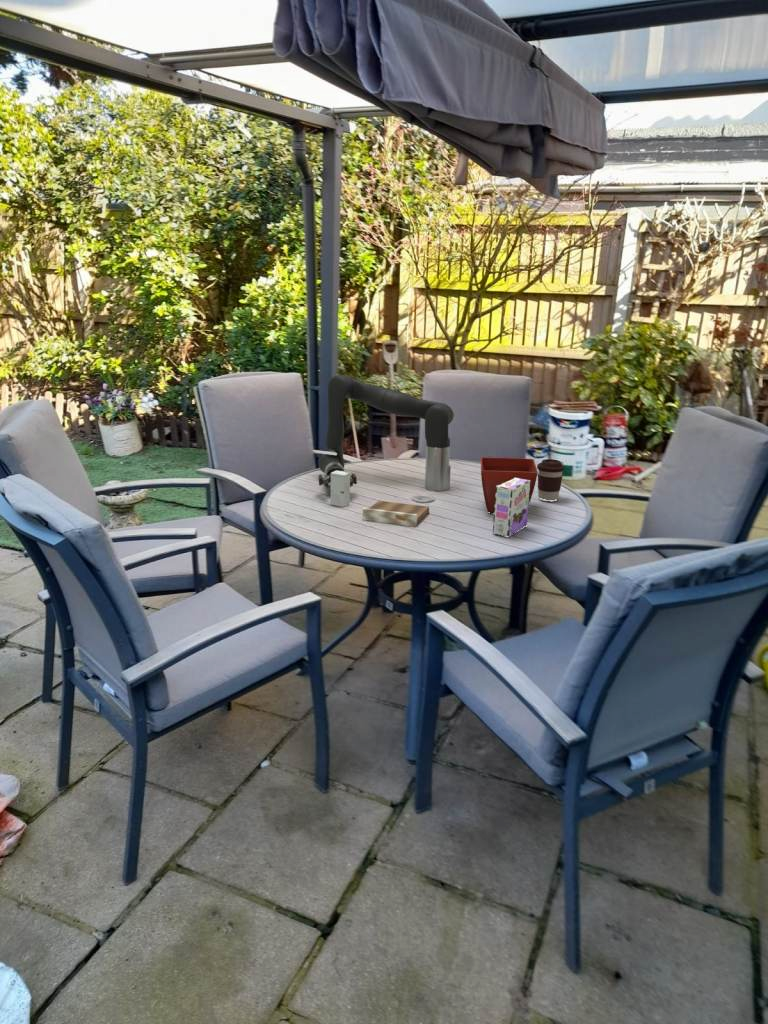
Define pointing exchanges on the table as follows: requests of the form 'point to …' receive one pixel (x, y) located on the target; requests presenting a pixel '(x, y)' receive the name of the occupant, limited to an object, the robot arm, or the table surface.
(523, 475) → the plant pot
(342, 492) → the skincare box
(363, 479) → the table surface
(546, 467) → the coffee cup
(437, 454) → the robot arm
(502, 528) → the candy box
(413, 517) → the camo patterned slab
